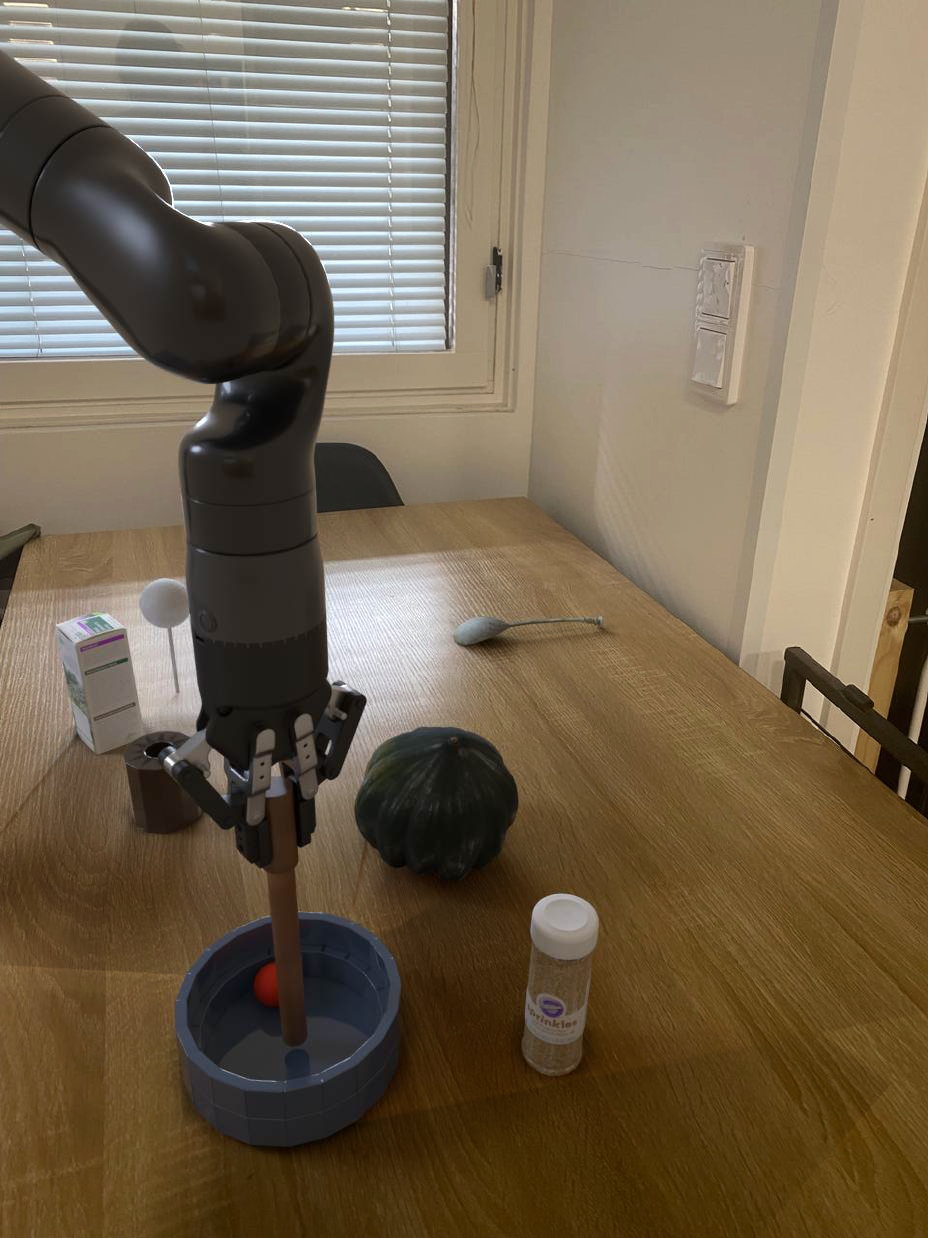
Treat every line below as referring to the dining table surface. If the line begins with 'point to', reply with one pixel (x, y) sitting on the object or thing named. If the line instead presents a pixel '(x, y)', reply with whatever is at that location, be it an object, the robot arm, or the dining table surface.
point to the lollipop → (165, 609)
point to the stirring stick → (285, 909)
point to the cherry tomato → (267, 986)
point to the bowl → (252, 1034)
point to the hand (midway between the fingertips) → (277, 849)
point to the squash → (437, 802)
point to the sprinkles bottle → (558, 982)
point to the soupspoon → (502, 627)
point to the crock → (157, 785)
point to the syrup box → (100, 681)
